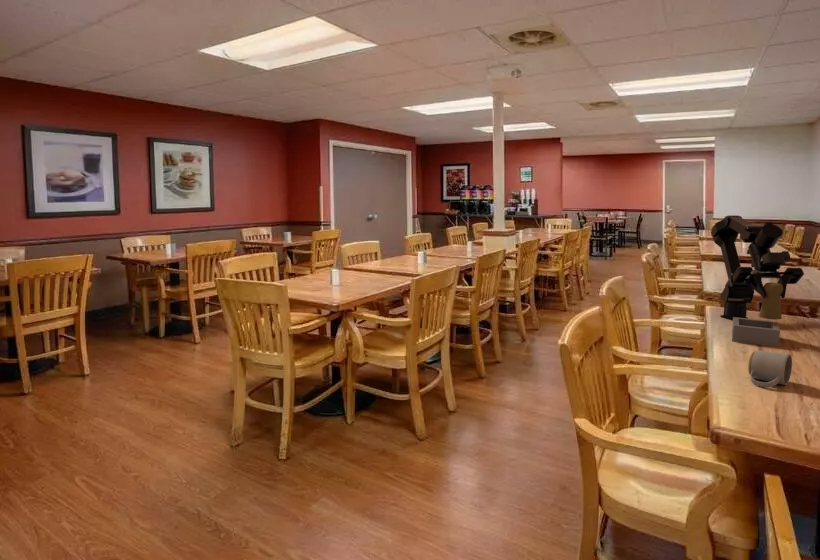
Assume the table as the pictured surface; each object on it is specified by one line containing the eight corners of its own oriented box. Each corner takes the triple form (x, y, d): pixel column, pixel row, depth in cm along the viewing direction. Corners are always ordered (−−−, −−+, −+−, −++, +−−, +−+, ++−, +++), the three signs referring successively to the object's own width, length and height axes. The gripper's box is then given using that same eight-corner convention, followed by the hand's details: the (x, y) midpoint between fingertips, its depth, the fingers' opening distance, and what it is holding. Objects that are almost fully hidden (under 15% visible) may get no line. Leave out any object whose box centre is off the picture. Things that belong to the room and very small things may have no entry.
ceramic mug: (753, 372, 142) (756, 344, 140) (791, 380, 136) (794, 351, 134) (741, 383, 134) (744, 354, 133) (780, 392, 129) (783, 362, 127)
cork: (779, 315, 171) (783, 281, 169) (783, 320, 166) (787, 285, 164) (757, 314, 174) (760, 280, 172) (760, 318, 168) (763, 284, 166)
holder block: (731, 331, 179) (733, 317, 178) (775, 336, 173) (776, 321, 172) (732, 341, 169) (733, 325, 168) (778, 346, 163) (779, 330, 162)
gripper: (739, 241, 171) (751, 282, 162) (804, 242, 168) (820, 283, 159) (727, 262, 180) (738, 301, 171) (788, 263, 177) (802, 303, 168)
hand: (774, 297), depth 167 cm, fingers closed on cork, 5 cm apart
